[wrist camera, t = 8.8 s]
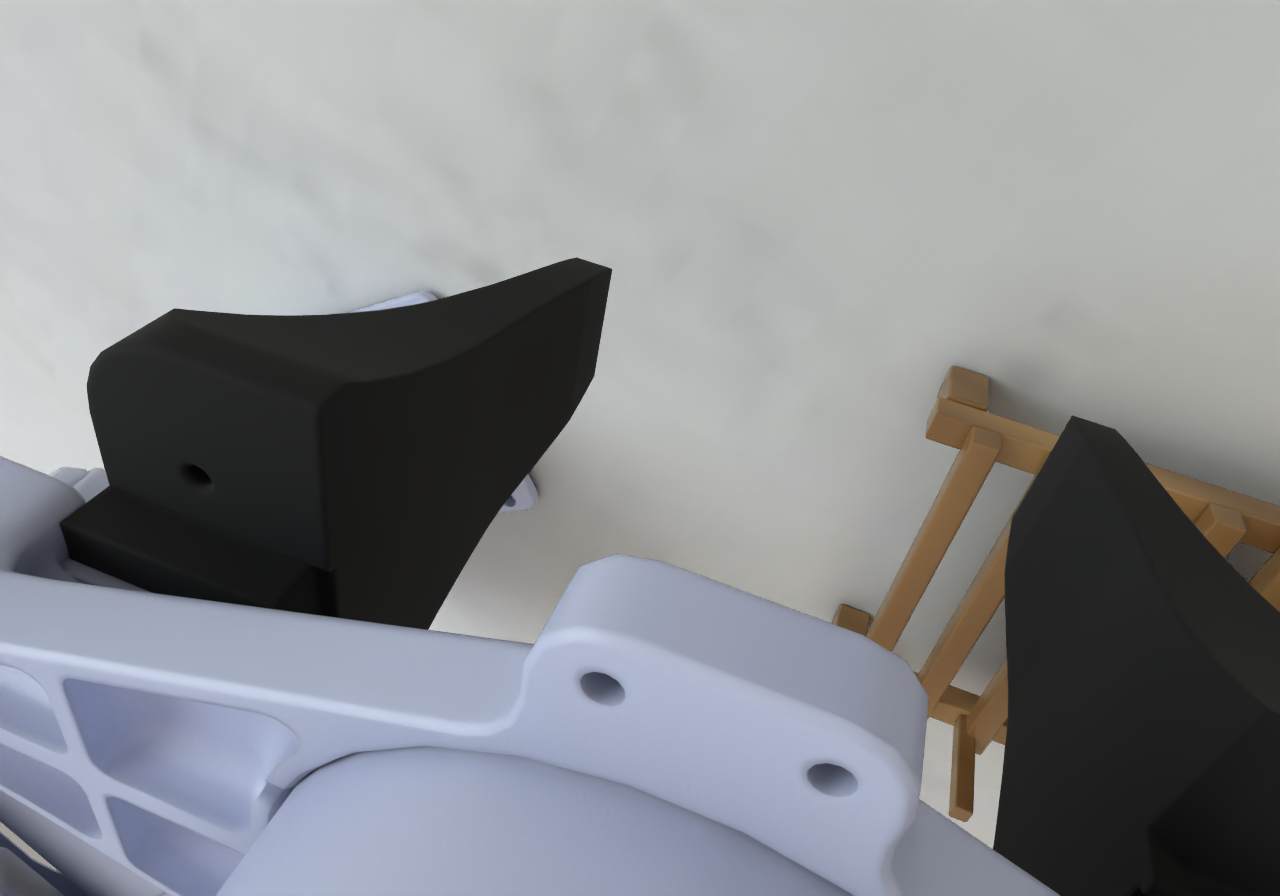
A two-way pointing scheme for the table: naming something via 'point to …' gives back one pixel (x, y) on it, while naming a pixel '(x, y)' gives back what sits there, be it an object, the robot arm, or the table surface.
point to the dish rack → (1027, 449)
